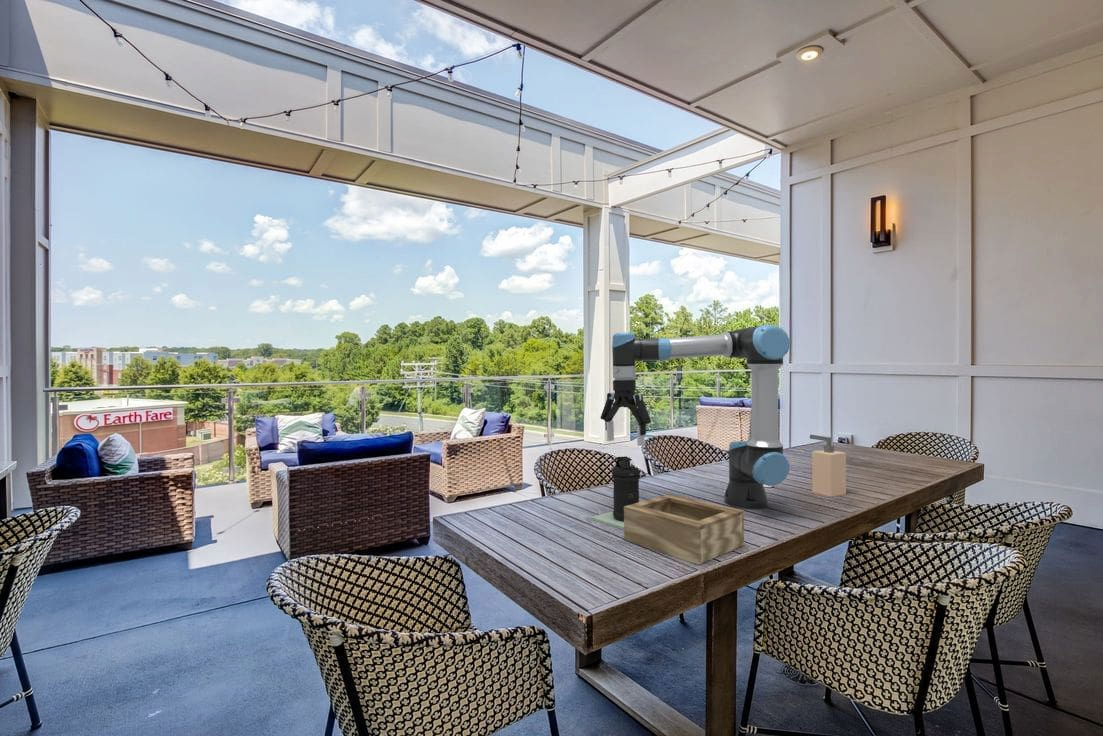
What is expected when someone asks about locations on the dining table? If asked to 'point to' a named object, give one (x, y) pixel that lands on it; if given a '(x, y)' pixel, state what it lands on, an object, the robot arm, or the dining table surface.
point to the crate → (684, 527)
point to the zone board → (609, 520)
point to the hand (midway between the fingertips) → (625, 442)
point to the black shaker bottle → (624, 486)
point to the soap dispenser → (828, 470)
